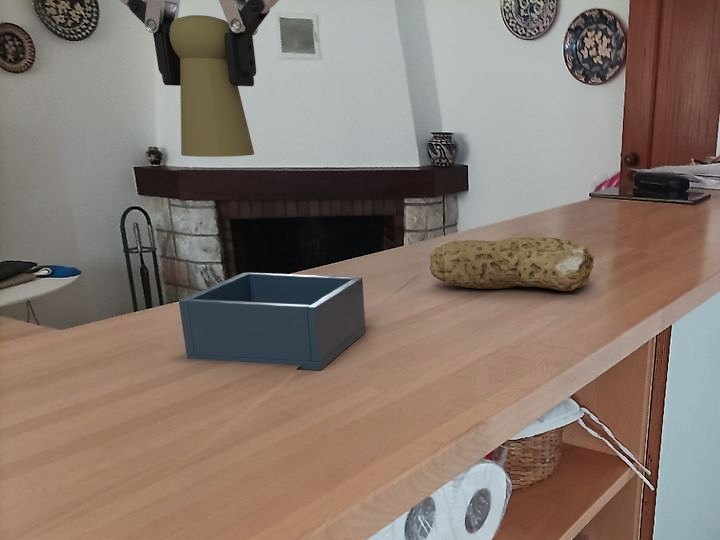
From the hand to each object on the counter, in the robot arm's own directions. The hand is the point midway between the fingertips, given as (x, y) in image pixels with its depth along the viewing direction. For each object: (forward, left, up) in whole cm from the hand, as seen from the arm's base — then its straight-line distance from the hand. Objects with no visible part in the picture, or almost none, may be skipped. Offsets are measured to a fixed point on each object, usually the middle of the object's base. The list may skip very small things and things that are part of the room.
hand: (209, 83), depth 67 cm
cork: (0, 0, -6) cm, 6 cm away
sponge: (+22, +31, -24) cm, 45 cm away
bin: (+4, +1, -24) cm, 24 cm away
